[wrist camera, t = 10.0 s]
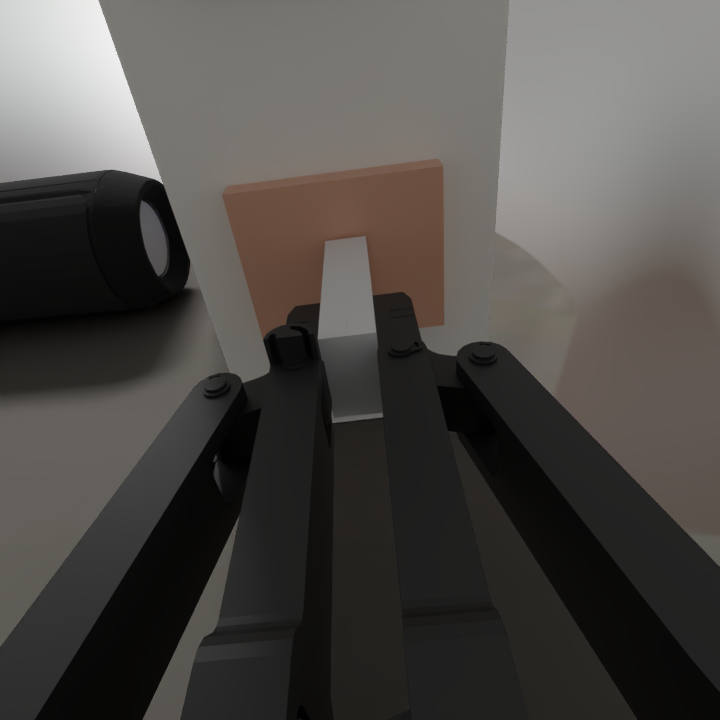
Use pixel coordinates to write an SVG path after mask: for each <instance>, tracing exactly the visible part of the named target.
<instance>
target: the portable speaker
mask: <svg viewBox="0 0 720 720" xmlns="http://www.w3.org/2000/svg"><path fill="white" fill-rule="evenodd" d="M189 269H190V258H189V255H188V253H187V250H186V247H185V244H184V241H183V238H182V236H181V233H180V230H179V227H178V224H177V221H176V219H175V216H174V213H173V210H172V207H171V204H170V201H169V199H168V196H167V193H166V190H165V187H164V185H163V184H162V183H160V182H159V181H157V180H155V179H151V178H147V177H143V176H139V175H135V174H132V173H127V172H122V171H116V170H104V171H96V172H87V173H79V174H71V175H63V176H55V177H46V178H39V179H31V180H22V181H14V182H7V183H0V323H2V322H12V321H22V320H32V319H42V318H51V317H61V316H71V315H81V314H91V313H101V312H111V311H121V310H130V309H140V308H149V307H151V306H154V305H155V304H157V303H159V302H161V301H163V300H165V299H166V298H168V297H170V296H172V295H174V294H176V293H178V292H180V291H181V290H182V289H183V288H184V286H185V285H186V282H187V279H188V275H189Z"/></svg>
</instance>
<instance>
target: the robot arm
mask: <svg viewBox="0 0 720 720" xmlns="http://www.w3.org/2000/svg"><path fill="white" fill-rule="evenodd" d="M263 342H264V345H265V349H266V352H267V356H268V359H269V363H270V370H269V373H267V374H265V375H263V376H261V377H259V378H256V379H253V380H250V381H247V382H244V383H242V380H241V378H240V377H239V376H238V375H236V374H232V373H218V374H215V375H212V376H209V377H207V378H205V379H204V380H202V381H200V382H199V383H198V384H197V385H196V386H195V387H194V388H193V389H192V391H191V392H190V393H189V395H188V396H187V397H186V399H185V400H184V401H183V403H182V404H181V405H180V407H179V408H178V409H177V411H176V412H175V414H174V415H173V416H172V418H171V419H170V420H169V422H168V423H167V424H166V426H165V427H164V428H163V430H162V431H161V432H160V434H159V435H158V436H157V438H156V439H155V440H154V442H153V443H152V444H151V446H150V447H149V448H148V450H147V451H146V452H145V454H144V455H143V456H142V458H141V459H140V460H139V462H138V463H137V465H136V466H135V467H134V469H133V470H132V471H131V473H130V474H129V475H128V477H127V478H126V479H125V481H124V482H123V483H122V485H121V486H120V487H119V489H118V490H117V491H116V493H115V494H114V495H113V497H112V498H111V499H110V501H109V502H108V503H107V505H106V506H105V507H104V509H103V510H102V511H101V513H100V514H99V516H98V517H97V518H96V520H95V521H94V522H93V524H92V525H91V526H90V528H89V529H88V530H87V532H86V533H85V534H84V536H83V537H82V538H81V540H80V541H79V542H78V544H77V545H76V546H75V548H74V549H73V550H72V552H71V553H70V554H69V556H68V557H67V558H66V560H65V561H64V562H63V564H62V565H61V566H60V568H59V569H58V571H57V572H56V573H55V575H54V576H53V577H52V579H51V580H50V581H49V583H48V584H47V585H46V587H45V588H44V589H43V591H42V592H41V593H40V595H39V596H38V597H37V599H36V600H35V601H34V603H33V604H32V605H31V607H30V608H29V609H28V611H27V612H26V613H25V615H24V616H23V617H22V619H21V620H20V622H19V623H18V624H17V626H16V627H15V628H14V630H13V631H12V632H11V634H10V635H9V636H8V638H7V639H6V640H5V642H4V643H3V644H2V646H1V647H0V720H142V719H143V717H144V715H145V713H146V711H147V709H148V707H149V705H150V702H151V700H152V698H153V696H154V694H155V692H156V690H157V688H158V686H159V683H160V681H161V679H162V677H163V675H164V673H165V671H166V669H167V667H168V664H169V662H170V660H171V658H172V656H173V654H174V652H175V650H176V648H177V645H178V643H179V641H180V639H181V637H182V635H183V633H184V631H185V629H186V626H187V624H188V622H189V620H190V618H191V616H192V614H193V612H194V610H195V607H196V605H197V603H198V601H199V599H200V597H201V595H202V593H203V591H204V588H205V586H206V584H207V582H208V580H209V578H210V576H211V574H212V572H213V569H214V567H215V565H216V563H217V561H218V559H219V557H220V555H221V553H222V550H223V548H224V546H225V544H226V542H227V540H228V538H229V536H230V534H231V531H232V529H233V527H234V525H235V523H236V521H237V519H238V517H239V515H240V517H239V522H238V527H237V532H236V536H235V541H234V546H233V551H232V556H231V561H230V566H229V571H228V576H227V581H226V585H225V590H224V595H223V600H222V605H221V610H220V615H219V619H218V623H217V626H216V628H215V630H214V632H213V633H211V634H209V635H207V636H206V637H204V638H203V640H202V642H201V643H200V645H199V647H198V650H197V653H196V656H195V659H194V663H193V667H192V671H191V676H190V680H189V684H188V689H187V693H186V698H185V702H184V706H183V711H182V715H181V719H180V720H334V719H333V710H332V702H331V686H330V677H331V613H332V549H333V485H334V427H333V422H332V411H333V416H334V418H339V417H348V416H357V415H366V414H375V413H383V421H384V431H385V441H386V451H387V462H388V472H389V482H390V493H391V503H392V513H393V523H394V534H395V544H396V554H397V564H398V575H399V585H400V595H401V606H402V623H403V635H404V646H405V656H406V667H407V677H408V687H409V698H410V708H411V710H409V711H407V712H404V713H402V714H399V715H397V716H395V717H392V718H390V719H387V720H529V719H528V715H527V711H526V708H525V704H524V700H523V696H522V692H521V689H520V685H519V681H518V677H517V673H516V670H515V666H514V662H513V658H512V654H511V651H510V647H509V643H508V639H507V635H506V632H505V629H504V625H503V622H502V619H501V617H500V614H499V612H498V610H497V609H496V608H494V607H493V605H492V602H491V599H490V596H489V592H488V588H487V584H486V580H485V576H484V572H483V568H482V564H481V560H480V556H479V552H478V548H477V544H476V540H475V536H474V532H473V529H472V525H471V521H470V517H469V513H468V509H467V505H466V501H465V497H464V493H463V489H462V485H461V481H460V477H459V473H458V469H457V465H456V461H455V457H454V453H453V449H452V445H451V441H450V437H449V433H448V431H454V432H457V435H458V438H459V440H460V441H461V443H462V445H463V446H464V448H465V449H466V451H467V452H468V454H469V456H470V457H471V459H472V460H473V462H474V463H475V465H476V467H477V468H478V470H479V471H480V473H481V474H482V476H483V478H484V479H485V481H486V482H487V484H488V485H489V487H490V488H491V490H492V492H493V493H494V495H495V496H496V498H497V499H498V501H499V503H500V504H501V506H502V507H503V509H504V510H505V512H506V514H507V515H508V517H509V518H510V520H511V521H512V523H513V525H514V526H515V528H516V529H517V531H518V532H519V534H520V536H521V537H522V539H523V540H524V542H525V543H526V545H527V547H528V548H529V550H530V551H531V553H532V554H533V556H534V558H535V559H536V561H537V562H538V564H539V565H540V567H541V569H542V570H543V572H544V573H545V575H546V576H547V578H548V580H549V581H550V583H551V584H552V586H553V587H554V589H555V591H556V592H557V594H558V595H559V597H560V598H561V600H562V601H563V603H564V605H565V606H566V608H567V609H568V611H569V612H570V614H571V616H572V617H573V619H574V620H575V622H576V623H577V625H578V627H579V628H580V630H581V631H582V633H583V634H584V636H585V638H586V639H587V641H588V642H589V644H590V645H591V647H592V649H593V650H594V652H595V653H596V655H597V656H598V658H599V660H600V661H601V663H602V664H603V666H604V667H605V669H606V671H607V672H608V674H609V675H610V677H611V678H612V680H613V682H614V683H615V685H616V686H617V688H618V689H619V691H620V693H621V694H622V696H623V697H624V699H625V700H626V702H627V704H628V705H629V707H630V708H631V710H632V711H633V713H634V715H635V716H636V718H637V719H638V720H720V567H719V566H718V565H717V564H716V563H715V562H714V561H713V560H712V559H711V557H710V556H709V555H708V554H707V553H706V552H705V551H704V550H703V549H702V548H701V547H700V546H699V545H698V544H697V543H696V542H695V541H694V540H693V539H692V538H691V537H690V536H689V535H688V534H687V533H686V532H685V531H684V530H683V529H682V528H681V527H680V526H679V525H678V524H677V523H676V522H675V521H674V520H673V519H672V518H671V517H670V516H669V515H668V514H667V512H666V511H664V510H663V508H662V507H660V505H659V504H658V503H657V502H656V501H655V500H654V499H653V498H652V497H651V496H650V495H649V494H648V493H647V492H646V491H645V490H644V489H643V488H642V487H641V486H640V485H639V484H638V483H637V482H636V481H635V480H634V479H633V478H632V477H631V476H630V475H629V474H628V473H627V472H626V471H625V470H624V469H623V468H622V466H621V465H620V464H618V462H616V460H615V459H614V458H613V457H612V456H611V455H610V454H609V453H608V452H607V451H606V450H605V449H604V448H603V447H602V446H601V445H600V444H599V443H598V442H597V441H596V440H595V439H594V438H593V437H592V436H591V435H590V434H589V433H588V432H587V431H586V430H585V429H584V428H583V427H582V426H581V425H580V423H578V421H577V420H576V419H575V418H574V417H573V416H572V415H571V414H570V413H569V412H568V411H567V410H566V409H565V408H564V407H563V406H562V405H561V404H560V403H559V402H558V401H557V400H556V399H555V398H554V397H553V396H552V395H551V394H550V393H549V392H548V391H547V390H546V389H545V388H544V387H543V386H542V385H541V384H540V383H539V382H538V381H537V380H536V378H535V377H534V376H533V375H532V374H531V373H530V372H529V371H528V370H527V369H526V368H525V367H524V366H523V365H522V364H521V363H520V362H519V361H518V360H517V359H516V358H515V357H514V356H513V355H512V354H511V353H510V352H509V351H508V350H507V349H506V348H504V347H503V346H501V345H499V344H496V343H492V342H483V341H480V342H473V343H470V344H467V345H465V346H463V347H462V348H461V349H460V350H459V351H458V352H457V356H450V355H443V354H438V353H435V352H432V351H431V350H429V349H427V346H426V345H425V343H424V342H423V341H422V339H421V335H420V331H419V327H418V323H417V319H416V316H415V311H414V307H413V303H412V299H411V298H410V297H409V296H408V295H406V294H405V293H404V292H396V293H388V294H380V295H373V293H372V285H371V276H370V268H369V259H368V251H367V243H366V236H361V237H353V238H345V239H338V240H330V241H325V252H324V264H323V277H322V289H321V302H320V303H316V304H308V305H300V306H295V307H294V308H293V309H292V311H291V312H290V313H289V314H288V316H287V321H286V325H281V326H279V327H277V328H274V329H272V330H271V331H270V332H268V333H267V334H266V335H265V337H264V339H263Z"/></svg>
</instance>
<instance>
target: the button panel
mask: <svg viewBox="0 0 720 720" xmlns="http://www.w3.org/2000/svg"><path fill="white" fill-rule="evenodd" d="M99 2H100V5H101V8H102V11H103V14H104V17H105V19H106V22H107V25H108V28H109V31H110V34H111V37H112V40H113V42H114V45H115V48H116V51H117V54H118V57H119V59H120V62H121V65H122V68H123V71H124V74H125V76H126V79H127V82H128V85H129V88H130V91H131V93H132V96H133V99H134V102H135V105H136V108H137V111H138V113H139V116H140V119H141V122H142V124H143V128H144V130H145V133H146V136H147V139H148V142H149V145H150V147H151V150H152V153H153V156H154V159H155V161H156V165H157V167H158V170H159V173H160V176H161V179H162V182H163V184H164V187H165V190H166V193H167V196H168V199H169V201H170V204H171V207H172V210H173V213H174V216H175V219H176V221H177V224H178V227H179V230H180V233H181V236H182V238H183V241H184V244H185V247H186V250H187V253H188V255H189V258H190V261H191V264H192V267H193V270H194V273H195V275H196V278H197V281H198V284H199V287H200V290H201V292H202V295H203V298H204V301H205V304H206V307H207V309H208V312H209V315H210V318H211V321H212V324H213V326H214V329H215V332H216V335H217V338H218V341H219V344H220V346H221V349H222V352H223V355H224V358H225V361H226V363H227V366H228V369H229V372H230V373H232V374H236V375H238V376H239V377H240V378H241V380H242V383H244V382H247V381H250V380H253V379H256V378H259V377H261V376H263V375H265V374H267V373H269V370H270V363H269V359H268V356H267V352H266V349H265V345H264V342H263V338H262V335H261V331H260V328H259V324H258V321H257V317H256V313H255V310H254V306H253V303H252V299H251V296H250V292H249V289H248V285H247V282H246V278H245V275H244V271H243V268H242V264H241V261H240V257H239V254H238V250H237V246H236V243H235V239H234V236H233V232H232V229H231V225H230V222H229V218H228V215H227V211H226V208H225V204H224V201H223V197H222V194H223V192H224V190H225V189H226V187H227V186H232V185H239V184H247V183H255V182H262V181H270V180H277V179H285V178H293V177H300V176H308V175H316V174H323V173H331V172H339V171H346V170H354V169H362V168H369V167H377V166H385V165H392V164H400V163H408V162H415V161H423V160H431V159H439V161H440V162H441V163H442V165H443V192H444V325H441V326H433V327H425V328H419V331H420V335H421V339H422V341H423V342H424V343H425V345H426V346H427V349H429V350H431V351H432V352H435V353H438V354H443V355H450V356H457V352H458V351H459V350H460V349H461V348H462V347H463V346H465V345H467V344H470V343H473V342H480V341H483V342H488V338H489V322H490V305H491V289H492V273H493V256H494V240H495V223H496V206H497V190H498V173H499V158H500V141H501V124H502V109H503V91H504V75H505V58H506V43H507V26H508V10H509V0H99ZM381 417H383V413H375V414H366V415H357V416H348V417H339V418H334V416H333V411H332V422H333V423H339V422H347V421H356V420H364V419H373V418H381Z"/></svg>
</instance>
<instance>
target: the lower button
mask: <svg viewBox="0 0 720 720" xmlns="http://www.w3.org/2000/svg"><path fill="white" fill-rule="evenodd" d="M222 197H223V201H224V204H225V208H226V211H227V215H228V218H229V222H230V225H231V229H232V232H233V236H234V239H235V243H236V246H237V250H238V254H239V257H240V261H241V264H242V268H243V271H244V275H245V278H246V282H247V285H248V289H249V292H250V296H251V299H252V303H253V306H254V310H255V313H256V317H257V321H258V324H259V328H260V331H261V335H262V338H263V339H264V337H265V335H266V334H267V333H268V332H270V331H271V330H272V329H274V328H277V327H279V326H281V325H286V321H287V316H288V314H289V313H290V312H291V311H292V309H293V308H294V307H295V306H300V305H308V304H316V303H320V302H321V289H322V277H323V264H324V252H325V241H330V240H338V239H345V238H353V237H361V236H366V243H367V251H368V259H369V268H370V276H371V285H372V293H373V295H380V294H388V293H396V292H404V293H405V294H406V295H408V296H409V297H410V298H411V299H412V303H413V307H414V311H415V316H416V319H417V323H418V327H419V328H425V327H433V326H441V325H444V192H443V165H442V163H441V162H440V161H439V159H431V160H423V161H415V162H408V163H400V164H392V165H385V166H377V167H369V168H362V169H354V170H346V171H339V172H331V173H323V174H316V175H308V176H300V177H293V178H285V179H277V180H270V181H262V182H255V183H247V184H239V185H232V186H227V187H226V189H225V190H224V192H223V194H222Z"/></svg>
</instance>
